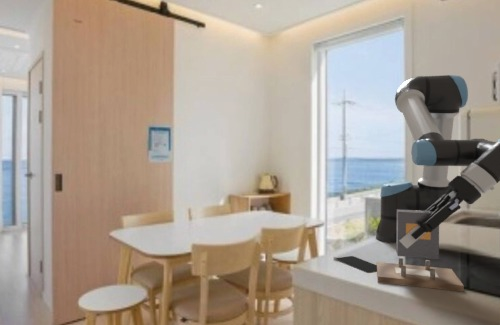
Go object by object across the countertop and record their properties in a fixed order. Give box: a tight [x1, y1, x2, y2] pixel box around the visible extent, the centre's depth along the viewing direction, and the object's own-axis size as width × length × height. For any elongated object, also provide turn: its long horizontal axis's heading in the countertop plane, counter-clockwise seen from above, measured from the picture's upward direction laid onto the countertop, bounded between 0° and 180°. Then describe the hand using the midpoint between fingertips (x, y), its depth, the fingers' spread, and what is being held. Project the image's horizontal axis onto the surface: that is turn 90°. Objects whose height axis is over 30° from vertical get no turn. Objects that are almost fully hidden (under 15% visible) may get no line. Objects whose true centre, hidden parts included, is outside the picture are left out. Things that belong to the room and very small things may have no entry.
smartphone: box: [335, 255, 377, 274], centre depth 110 cm, size 7×1×15 cm
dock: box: [376, 257, 465, 292], centre depth 97 cm, size 20×14×4 cm
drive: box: [395, 209, 440, 260], centre depth 97 cm, size 10×5×12 cm, turn 71°
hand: (402, 242), depth 98 cm, fingers closed on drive, 5 cm apart
